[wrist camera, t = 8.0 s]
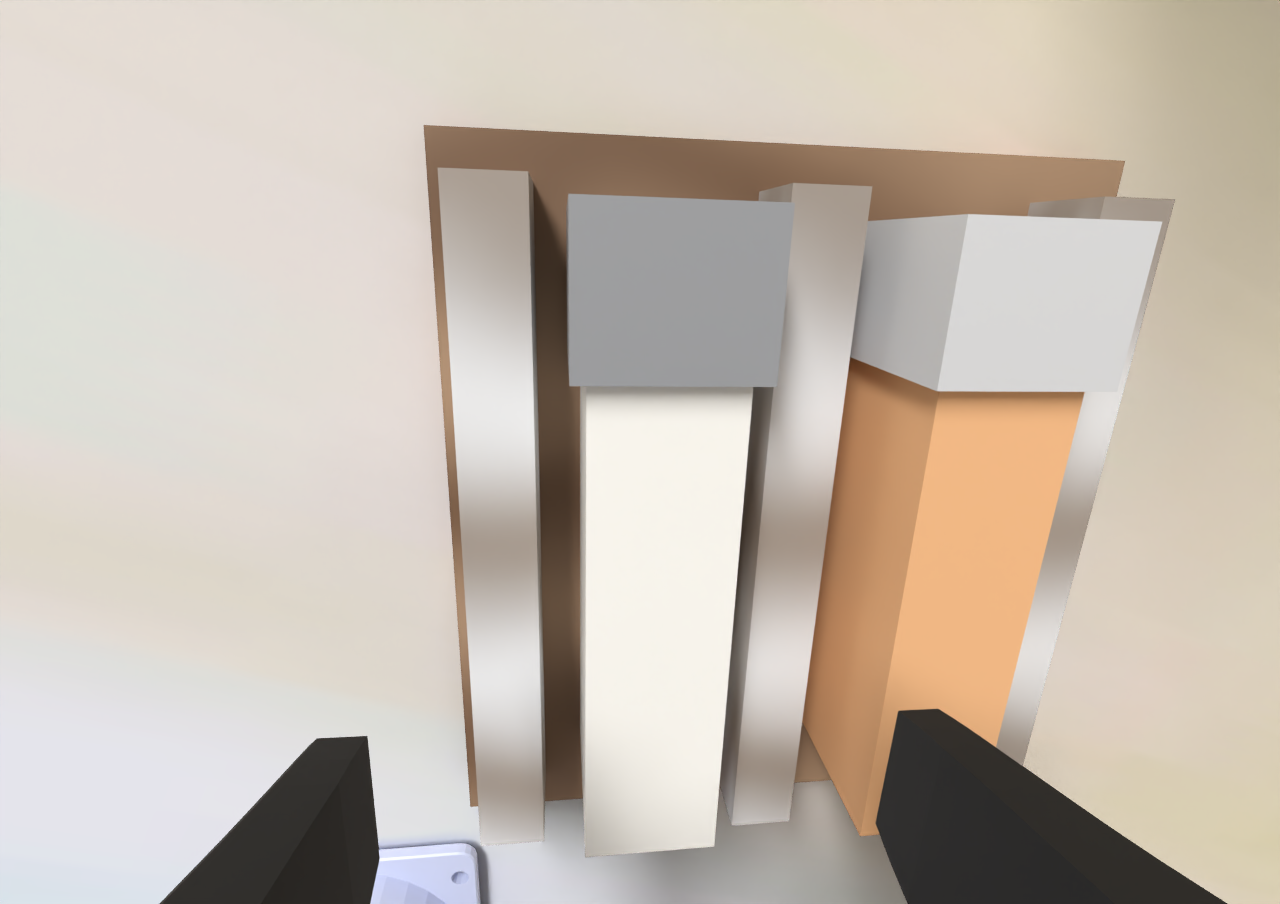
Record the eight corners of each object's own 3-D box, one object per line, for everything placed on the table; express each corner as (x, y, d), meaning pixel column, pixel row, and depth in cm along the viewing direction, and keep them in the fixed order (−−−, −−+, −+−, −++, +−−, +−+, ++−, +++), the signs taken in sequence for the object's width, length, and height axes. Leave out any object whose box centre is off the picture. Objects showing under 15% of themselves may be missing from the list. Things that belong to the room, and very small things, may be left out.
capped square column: (904, 712, 19) (997, 839, 15) (791, 719, 19) (855, 852, 15) (997, 227, 15) (1162, 221, 11) (853, 222, 15) (968, 213, 11)
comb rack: (962, 750, 21) (1024, 828, 18) (474, 784, 19) (459, 877, 17) (1098, 165, 16) (1215, 147, 13) (431, 131, 14) (397, 103, 11)
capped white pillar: (693, 723, 19) (730, 860, 14) (569, 731, 18) (572, 875, 14) (727, 214, 14) (795, 203, 10) (566, 208, 14) (568, 193, 10)
